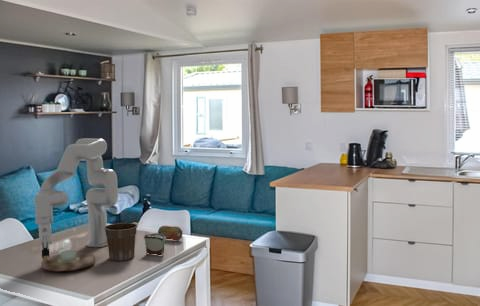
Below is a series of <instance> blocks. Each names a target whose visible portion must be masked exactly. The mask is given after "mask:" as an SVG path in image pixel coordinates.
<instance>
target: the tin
mask: <svg viewBox="0 0 480 306" xmlns="http://www.w3.org/2000/svg"><path fill="white" fill-rule="evenodd" d="M157 233H159V234H164V235H165V237H166V239H173V240H178V241H180V240H182V238H183V230H182V229H181V228H180V227H179V226H175V225H174V226H173V225H162V226H160V227H159V228H158V230H157Z"/></svg>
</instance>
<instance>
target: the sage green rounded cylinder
mask: <svg viewBox="0 0 480 306" xmlns="http://www.w3.org/2000/svg"><path fill="white" fill-rule="evenodd" d="M76 252H77V250H75V249H68V250H63V251H60V253H59V254H60V256H61V262H62V263H70V262H74V261H76V260H77V259H76Z"/></svg>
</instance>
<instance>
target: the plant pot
mask: <svg viewBox="0 0 480 306" xmlns="http://www.w3.org/2000/svg"><path fill="white" fill-rule="evenodd" d="M137 228H138V224H137V223H133V222H118V223H112V224H107V226H105V227H104V229H105V232H106V236H107V242H108V245H107V247H108V248H107V249H108V257H109V259H110V261H115V262H125V261H129V260H130V259H131V258H132V259H134V257H135V252H136V251H135V248H136V247H135V246H136V234H137Z"/></svg>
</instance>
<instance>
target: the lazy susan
mask: <svg viewBox="0 0 480 306" xmlns="http://www.w3.org/2000/svg"><path fill="white" fill-rule="evenodd" d="M76 259H77V260H76V261H74V262H70V263H62V262H61V256H60V253H59V254H56V255H51V256H50V255H49V256H48V255H46V256H43V259H42V261H41V268H42V269H43V270H45V271H49V272H59V271H66V272H71V271H70V270H74V271H77V269H78V270H81V269H85V268H87V267H90V266H92V265H93V264H94V263H95V262H96V256H95V254H92V253H89V252H77V251H76Z"/></svg>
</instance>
